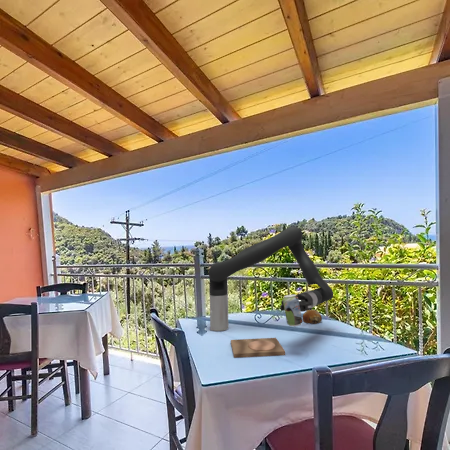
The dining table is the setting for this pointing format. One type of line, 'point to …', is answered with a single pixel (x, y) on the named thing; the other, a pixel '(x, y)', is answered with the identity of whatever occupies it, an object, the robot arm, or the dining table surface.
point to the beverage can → (292, 310)
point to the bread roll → (312, 317)
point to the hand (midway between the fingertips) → (285, 308)
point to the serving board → (256, 347)
